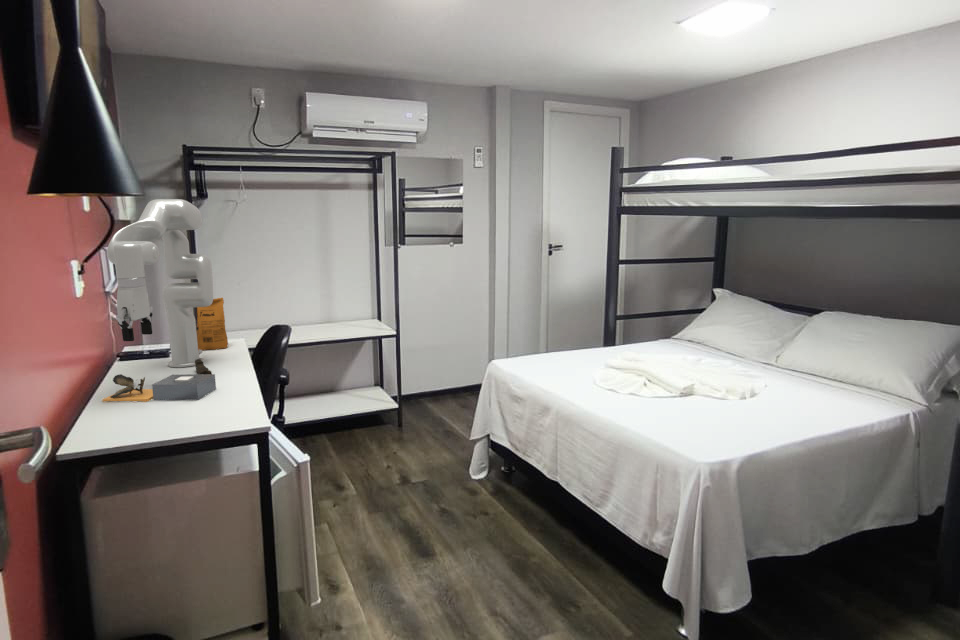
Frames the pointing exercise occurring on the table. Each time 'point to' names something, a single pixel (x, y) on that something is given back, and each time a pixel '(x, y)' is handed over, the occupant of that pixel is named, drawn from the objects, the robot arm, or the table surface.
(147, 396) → the pad
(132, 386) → the eagle figurine
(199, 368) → the hand tool
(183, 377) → the button
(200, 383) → the breaker box
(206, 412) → the table surface
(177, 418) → the table surface
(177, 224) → the robot arm
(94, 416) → the table surface
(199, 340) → the coffee package
